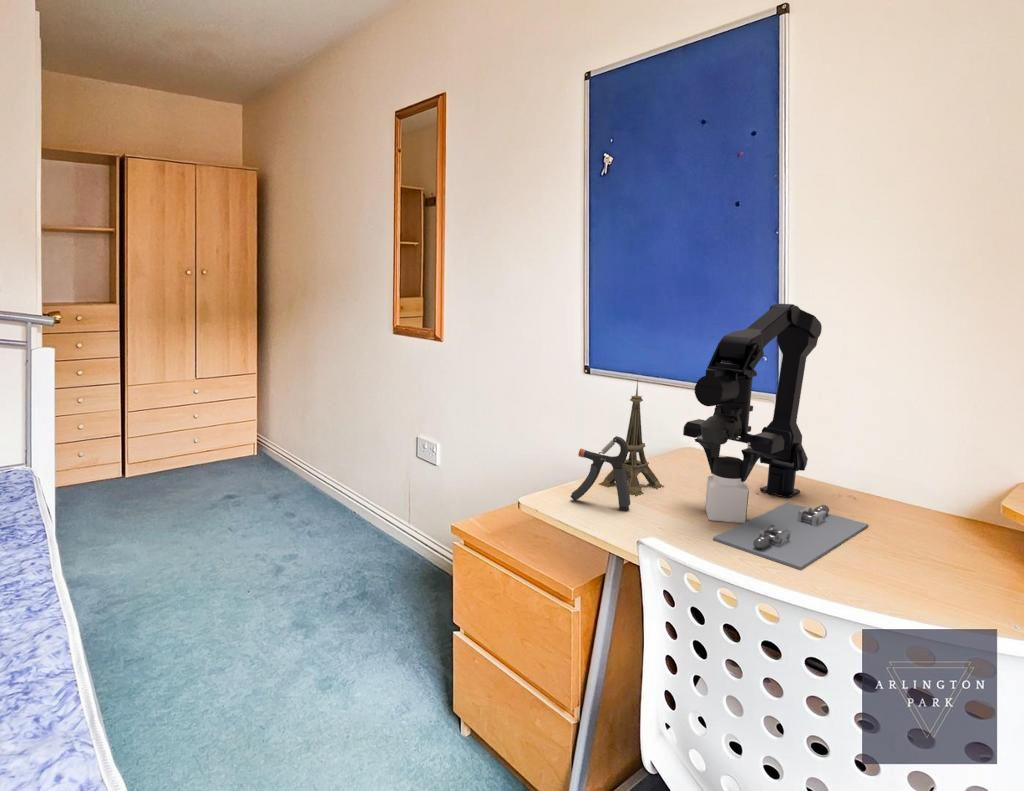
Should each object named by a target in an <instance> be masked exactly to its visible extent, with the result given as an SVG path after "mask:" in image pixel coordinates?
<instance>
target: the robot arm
mask: <svg viewBox="0 0 1024 791" xmlns="http://www.w3.org/2000/svg"><path fill="white" fill-rule="evenodd" d="M822 328H823V326H822V323H821V321H820V320H819V319H818V318H817V317H816V316H815V314H812V313H809V312H808V311H805V310H802V309H801V308H800V307H799V306H798V305H795V304H793V303H777V302H776V303H775V304H771V306H770V307H769V309H768V311H766V312H765V313H763V315H762V316H760V317H759V318H758V319H756V320H755V321H754V322H753V323H751V324H750V325H749V326H748V327H747V328H744V329H741V330H736V331H732V332H729V333H727V334H725V335H723V336H722V338H721V339H720V340H719V342H718V344H717V346H716V348H715V349H714V352H713V355H712V356H711V359H710V360H709V363H708V366H707V367H706V369H705V375H703V376H702V377H700V378H699V379H698V380H697V382H696V383H695V385H694V395H695V399H696V400H697V401H698V402H699V403H700V404H701V405H703V406H705V407H714V411H713V414H712V415H711V416H709V417H707V419H700V418H698V419H693V420H689V421H687V422H686V423H685V424H684V426H683V430H682V435H683V436H685V437H689V438H694V442H695V443H698V444H699V445H700V446H701V447H702V448H703V451H704V453H705V456H706V459H707V462H708V466H709V470H710V472H711V475H713V463H714V459H715V458H717V457H720V454H721V445H724V444H726V443H727V442H728V441H734V442H739V443H743V444H746V445H747V448H743V449H741V453H742V457H743V459H742V460H743V465H742V472H741V482H745V483H746V481H747V479H748V478H749V475H750V474H751V472H752V471H753V468H754V467H755V465H756V463H757V462H758V460H759V462H760V464H765V465H768V472H767V481H766V485H765V486H763V487H760V492H764V493H767V494H771V495H776V496H779V497H783V498H790V497H792V496H795V495H797V494H800V493H801V490H800V489H798V488H795V484H796V476H797V472H798V471H802V472H803V471H805V470H806V467H807V465H808V456H807V454H806V451H805V449H804V447H803V444H802V442H803V433H802V432H801V429H800V428H799V425H798V424H797V421H798V414H799V408H800V402H801V395H802V387H803V381H804V375H805V370H806V369H805V368H806V362H807V357H808V356H809V355H810V354H811V353H812V352H813V350H814V349H816V347H817V345H818V341H819V337H820V336H821V335H822ZM775 338H776V343H777V345H778V348H779V350H780V352H781V356H782V357H781V364H780V369H779V370H780V371H779V376H778V377H779V378H778V381H777V382H778V383H777V390H776V396H775V403H774V410H773V417H772V420H771V421H770V422H769V423H768V424H767V426H763V428H762V430H761V432H759V433H756V434H752V433H751V432H752V426H751V425H749V424H750V423H749V422H750V412H753V411H754V405H751V400H752V390H753V389H752V388H753V380H754V379H753V378H754V377H757V376H758V373H757V371H756V370H755V368H756V366H757V365H758V364H759V362H760V361H761V359H762V358H763V357H764V354H765V352H764V348H765V347H766V346H767V345H768V344H769V343H770V342H771V341H773V339H775Z"/></svg>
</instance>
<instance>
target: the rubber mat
mask: <svg viewBox="0 0 1024 791" xmlns="http://www.w3.org/2000/svg"><path fill="white" fill-rule="evenodd" d="M804 508H806V506H802V505H799V504H796V503H791V502H786V503H783V504H782V505H779V506H777V507H775V508H773V509H770V510H769V511H766V512H764V513H762V514H760V515H758V516H756V517H754V518H751V519H750V520H746V522H745V523H740V524H739V525H737V526H734V527H732V528H730V529H727V530H726V531H724V532H722V533H719V534H717V535H715V536H714V537H712V541H715V542H718V543H721V544H724V545H726V546H729V547H732V548H736V549H739V550H740V551H744V552H747V553H750V554H753V555H754V556H759V557H761V558H765V559H768V560H771V561H774V562H775V563H779V564H782V565H785V566H788V567H791V568H793V569H796V570H800V571H801V570H803V569H805V568H806V567H808V566H809V565H811V564H813V562H815V561H817V560H818V559H819V560H820V558H822V557H824V556H825V555H827V554H828V553H830V552H831V551H833V550H834V549H835V548H838V547H839V546H841V545H842V544H844V543H845V542H847V541H848V540H850V539H852V538H853V537H854V536H856V535H858V534H860V533H861V532H862V531H864V530H865V529H867V528H869V523H865V522H863V521H862V522H861V521H859V520H855V519H850V518H847V517H843V516H840V515H837V514H831V513H830V512H829V513H828V514H826V518H825V521H824V522H822V523H821V524H819V525H817V526H812V522H809V521H806V520H804V521H802V522H798V521H797V519H798V511H800V510H802V509H804ZM814 509H815V508H814ZM814 509H813V508H811V510H813V511H814ZM770 525H775V529H777V530H780V531H784V530H786V529H788V530H791V531H790V541H788V542H786V543H785V544H783V545H781V546H779V547H776V546H774V545H775V543H774V542H772V543H771V545H769V546H767V547H766V548H764V549H762V550H758V549H756V548H755V547H754V545H753V542H754V540H755V539H756V538H758V537H759V535H760V530H762V529H764V528H766V527H768V526H770Z"/></svg>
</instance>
